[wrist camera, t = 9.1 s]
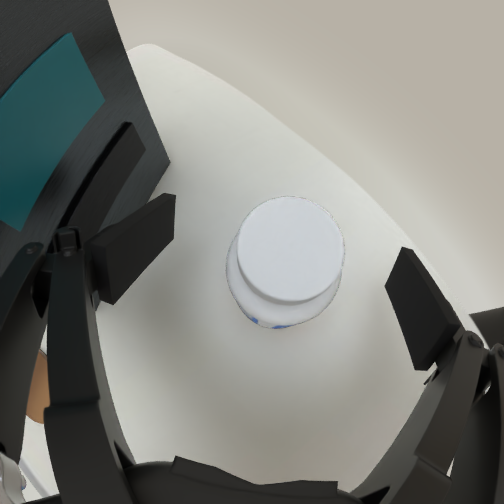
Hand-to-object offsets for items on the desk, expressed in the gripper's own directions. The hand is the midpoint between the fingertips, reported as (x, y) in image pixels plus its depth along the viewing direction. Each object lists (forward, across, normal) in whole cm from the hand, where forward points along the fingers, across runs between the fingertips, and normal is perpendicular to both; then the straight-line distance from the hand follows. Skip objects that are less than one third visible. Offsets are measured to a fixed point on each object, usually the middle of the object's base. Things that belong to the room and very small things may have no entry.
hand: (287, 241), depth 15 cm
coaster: (-8, -18, -15) cm, 25 cm away
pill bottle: (+2, 0, -5) cm, 6 cm away
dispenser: (+4, -14, -3) cm, 14 cm away
